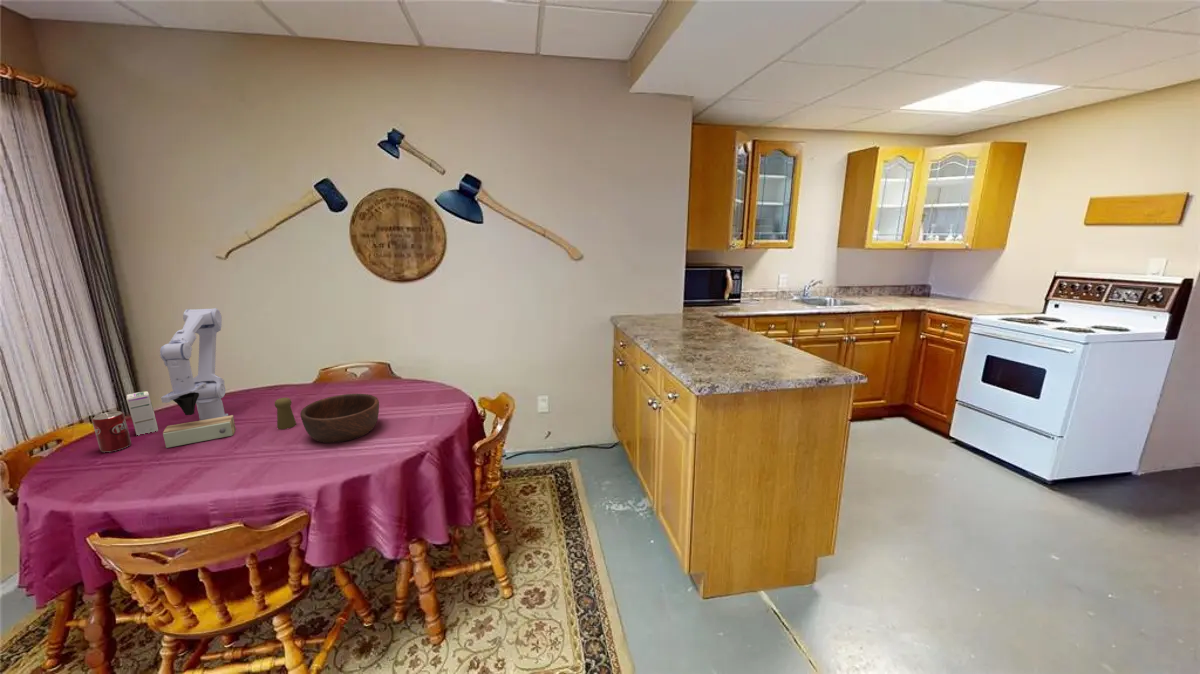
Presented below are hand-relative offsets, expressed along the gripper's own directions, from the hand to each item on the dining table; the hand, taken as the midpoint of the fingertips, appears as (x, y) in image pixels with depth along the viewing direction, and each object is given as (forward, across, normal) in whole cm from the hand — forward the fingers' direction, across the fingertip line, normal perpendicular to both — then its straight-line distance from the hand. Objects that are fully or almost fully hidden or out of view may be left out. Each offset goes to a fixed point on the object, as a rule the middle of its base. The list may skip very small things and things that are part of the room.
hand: (189, 414), depth 156 cm
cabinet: (+9, +1, -2) cm, 10 cm away
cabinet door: (+9, -2, -4) cm, 10 cm away
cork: (+10, +12, -24) cm, 29 cm away
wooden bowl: (+10, +9, -48) cm, 50 cm away
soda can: (+10, -8, +20) cm, 24 cm away
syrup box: (+10, +5, +23) cm, 25 cm away
